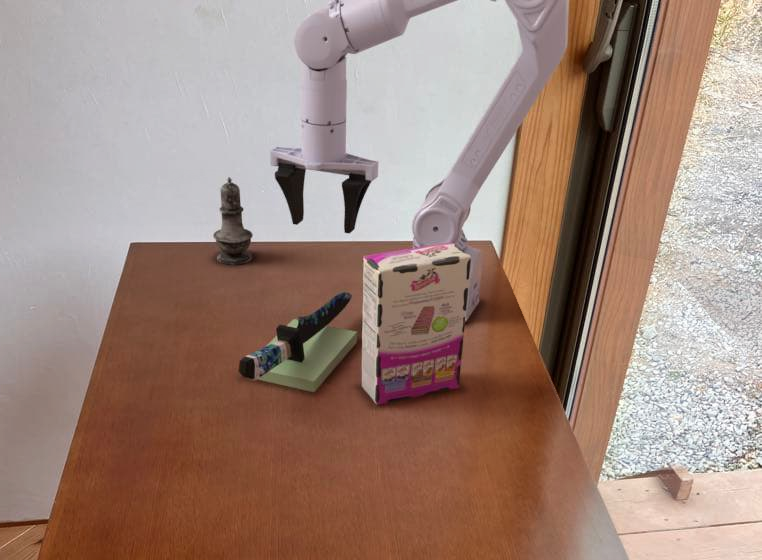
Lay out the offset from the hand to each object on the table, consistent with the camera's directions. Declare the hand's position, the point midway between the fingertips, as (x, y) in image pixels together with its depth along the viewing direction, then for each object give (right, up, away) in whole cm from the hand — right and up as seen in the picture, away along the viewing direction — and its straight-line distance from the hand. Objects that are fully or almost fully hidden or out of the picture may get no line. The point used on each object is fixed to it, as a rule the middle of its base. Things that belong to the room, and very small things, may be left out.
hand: (323, 226), depth 121 cm
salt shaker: (-14, 0, +15) cm, 21 cm away
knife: (-2, -19, -11) cm, 22 cm away
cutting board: (-2, -20, -10) cm, 22 cm away
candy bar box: (+11, -25, -14) cm, 31 cm away
